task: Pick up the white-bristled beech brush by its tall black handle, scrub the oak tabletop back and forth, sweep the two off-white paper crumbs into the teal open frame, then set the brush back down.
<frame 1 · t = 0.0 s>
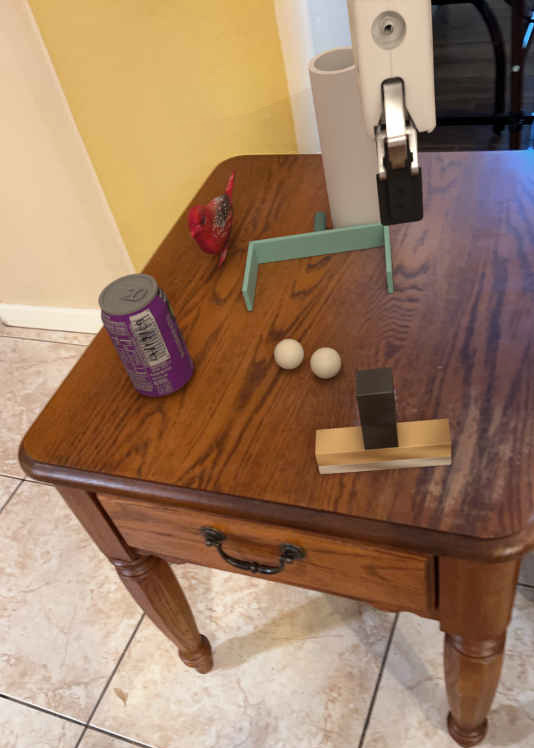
hand: (399, 187, 56), 20 cm above the table, tool pointing down, fingers open, 9 cm apart
brush: (383, 457, 66), on the table
crumb b: (288, 354, 75), point 2 cm above the table
decorative bird figurine: (229, 250, 93), on the table
vase: (374, 219, 90), on the table
beverage can: (166, 379, 79), on the table
teal open frame: (320, 277, 85), on the table
crumb a: (325, 363, 73), point 2 cm above the table
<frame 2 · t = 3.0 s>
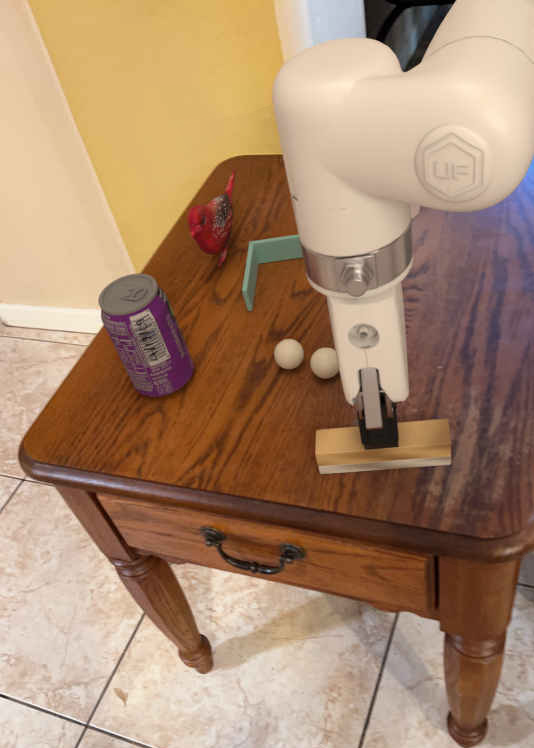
hand: (379, 424, 62), 5 cm above the table, tool pointing down, fingers closed on brush, 3 cm apart
brush: (383, 457, 66), on the table, touching gripper
everything else where it was.
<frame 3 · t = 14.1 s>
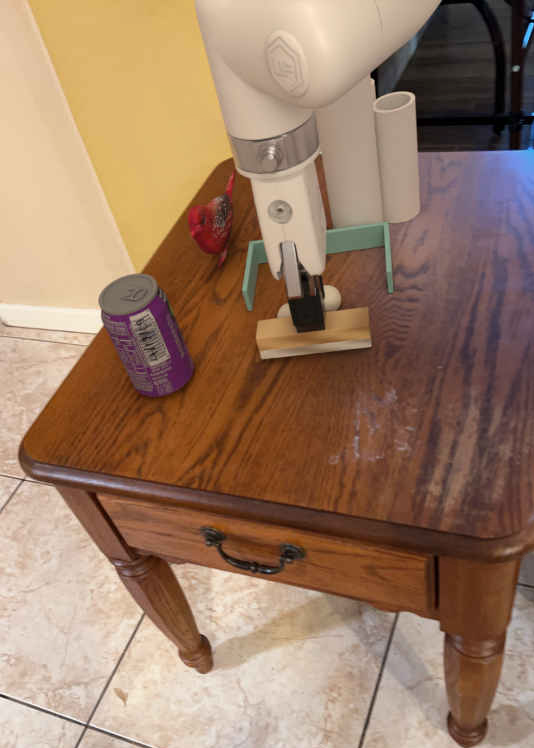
hand: (309, 310, 73), 5 cm above the table, tool pointing down, fingers closed on brush, 3 cm apart
brush: (316, 344, 76), point 1 cm above the table, touching gripper
crumb b: (291, 317, 79), point 2 cm above the table, tilted 141°
crumb a: (327, 299, 79), point 2 cm above the table, tilted 14°
everything else where it was.
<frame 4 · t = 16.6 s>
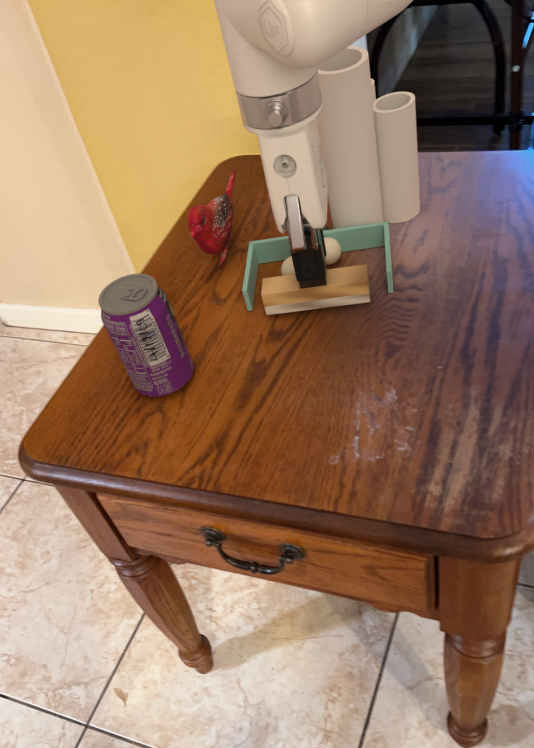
hand: (311, 267, 77), 5 cm above the table, tool pointing down, fingers closed on brush, 3 cm apart
brush: (317, 300, 81), point 1 cm above the table, touching gripper
crumb b: (294, 270, 84), point 2 cm above the table, tilted 174°
crumb a: (328, 251, 85), point 2 cm above the table, tilted 10°
everything else where it was.
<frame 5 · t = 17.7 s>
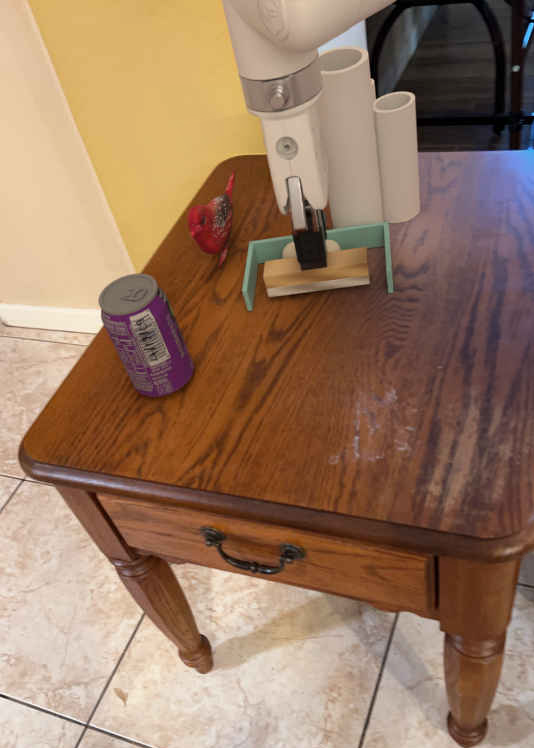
hand: (312, 249, 79), 5 cm above the table, tool pointing down, fingers closed on brush, 3 cm apart
brush: (318, 283, 83), point 1 cm above the table, touching gripper
crumb b: (295, 255, 86), point 2 cm above the table, tilted 78°
crumb a: (327, 253, 85), point 2 cm above the table, tilted 26°
everything else where it was.
when the fingers open (5 cm above the table, at t = 25.2 s): brush stays where it is, on the table.
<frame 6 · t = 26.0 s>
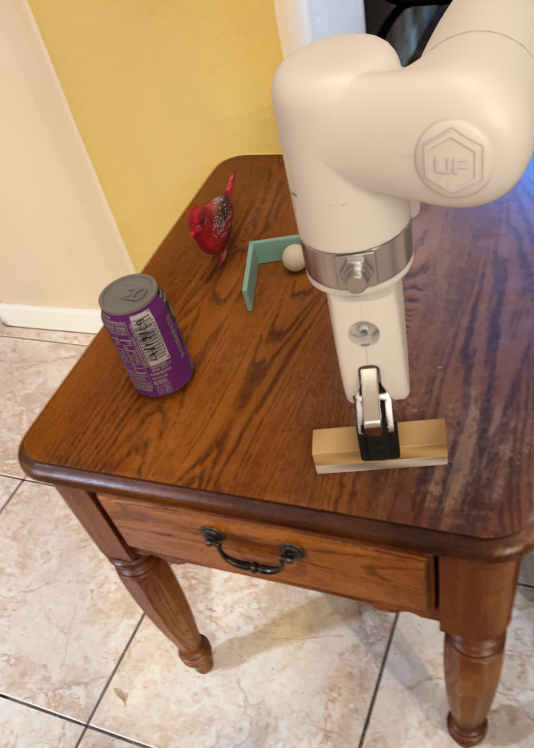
hand: (379, 414, 61), 6 cm above the table, tool pointing down, fingers open, 9 cm apart
brush: (380, 457, 66), on the table
crumb b: (295, 257, 86), point 2 cm above the table, tilted 97°
crumb a: (328, 251, 85), point 2 cm above the table, tilted 12°
everything else where it was.
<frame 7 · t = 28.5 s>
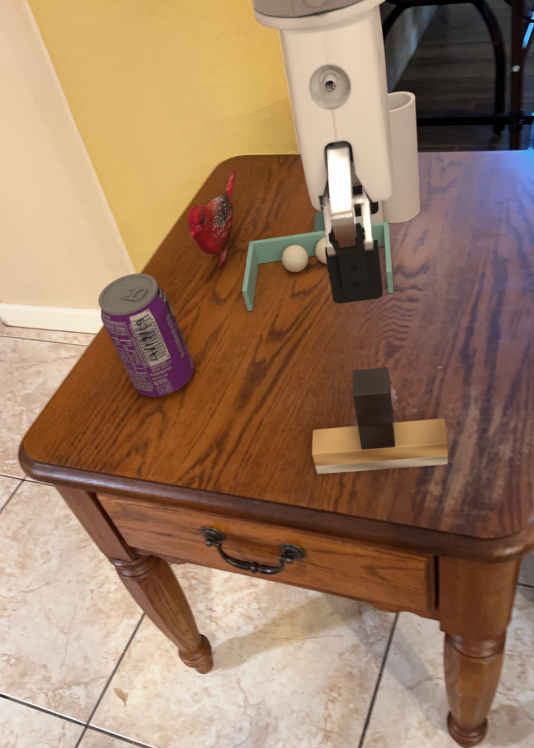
hand: (357, 254, 49), 22 cm above the table, tool pointing down, fingers open, 9 cm apart
crumb b: (295, 258, 86), point 2 cm above the table, tilted 103°
crumb a: (328, 250, 85), point 2 cm above the table, tilted 6°
everything else where it was.
at the end: crumb a inside the target area on the teal open frame (2.6 cm from its centre), point 1.6 cm above the teal open frame's base; crumb b inside the target area on the teal open frame (3.3 cm from its centre), point 1.6 cm above the teal open frame's base; the gripper is holding nothing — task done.
